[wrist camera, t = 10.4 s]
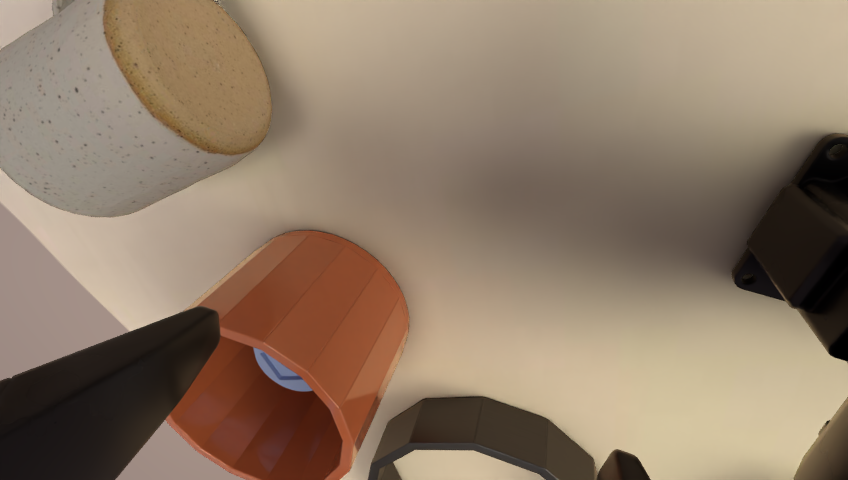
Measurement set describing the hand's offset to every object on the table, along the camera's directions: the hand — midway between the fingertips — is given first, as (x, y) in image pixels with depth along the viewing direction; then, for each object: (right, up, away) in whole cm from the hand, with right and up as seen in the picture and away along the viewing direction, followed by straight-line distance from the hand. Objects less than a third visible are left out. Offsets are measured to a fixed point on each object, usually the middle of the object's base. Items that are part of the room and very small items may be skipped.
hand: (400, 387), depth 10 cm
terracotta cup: (-5, -1, +16) cm, 17 cm away
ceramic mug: (-11, +12, +11) cm, 19 cm away
